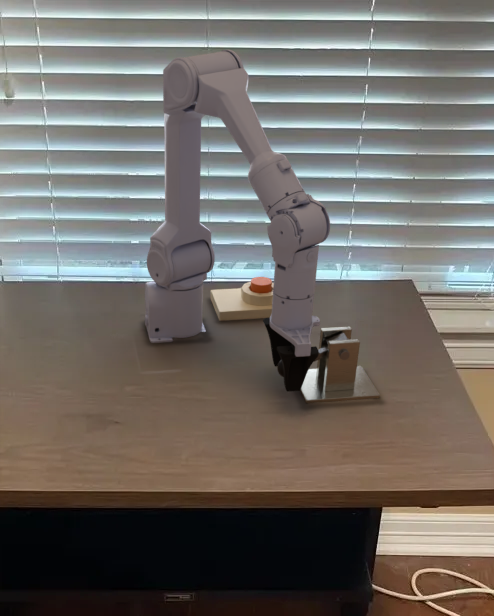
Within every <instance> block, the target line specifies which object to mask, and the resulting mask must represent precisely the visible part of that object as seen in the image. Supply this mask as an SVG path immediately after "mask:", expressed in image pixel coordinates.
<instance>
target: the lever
mask: <svg viewBox="0 0 494 616" xmlns="http://www.w3.org/2000/svg"><path fill="white" fill-rule="evenodd" d="M335 340H348V338H347V337H346V335H345V334H344V333H341V334H339V335H336V336H334V337H332V338H329V339H327V340H326V342H327V345H328V341H335ZM318 350H319V355H318V357H317V358H316V359H315V361H314V362H318V360H319V359H322V358H324V357H327V350H328V346H326V347H324V348H321V349H319V348H318ZM314 362H313V363H314ZM276 370H277V373H278V375H279V376H280V377H282V378H284V373H283V365H282V361H281V360H280V361H279V363H278V366H276Z"/></svg>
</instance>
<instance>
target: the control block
mask: <svg viewBox="0 0 494 616" xmlns="http://www.w3.org/2000/svg"><path fill="white" fill-rule="evenodd" d="M273 286H274V282H272V289H271V292H269V293H254V292H252V291H251V290H250V289H251V281H247V282H245V283H244V284H243V285H242V286H241V287H238V288H219V289H210V294H209V295H210V296H209V298H210V301H211V303H212V306H213V308H214V311H215V313H216V316H217V319H218V321H220V322H224V321H238V320H254V319H256V320H257V319H265V318H269V317H271V313H272V300H273Z"/></svg>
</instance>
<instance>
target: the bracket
mask: <svg viewBox="0 0 494 616" xmlns="http://www.w3.org/2000/svg"><path fill="white" fill-rule="evenodd" d="M352 331H353V329H352V327H351V326H336V327H321V328H320V334H319V343H318V350H319V349H321V348H324V347H326V346H328V350H327V357H324V358H322V359H319V360H317V361H316V362H317V363H316V368H309V370H308V372H307V374H306V377H305V380H304V382H303V385H302V388H301V390H300V391H299V392H300V394H301V396H302V399H303V400H304V402H305V404H316V403H317V404H319V403H320V404H321V403H332V402H345V401H346V402H347V401H358V400H372V399H373V400H374V399H380V396H381V395H380V392H379V391H378V389H377V388H376V386H375V385H374V383H373V382H372V380H371V379H370V377H369V375H368V374H367V372H366V371H365V369H364V368H363V366H362V365H358V363H359V362H358V360H359V353H360V346H361V341H360V340H359V338H353V339H352ZM341 333H344V334H345V335H346V337H347V338H348V340H335V341H328V345H327V342H326V340H327V339H329V338H332V337H334V336H336V335H339V334H341Z"/></svg>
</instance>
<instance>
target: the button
mask: <svg viewBox="0 0 494 616" xmlns="http://www.w3.org/2000/svg"><path fill="white" fill-rule="evenodd" d="M250 282H251V289H250V290H251V291H252V292H254V293H269V292H271V289H272V283H273V280H272V279H271V278H269V277H265V276H256V277H252V278H251V280H250Z"/></svg>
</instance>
